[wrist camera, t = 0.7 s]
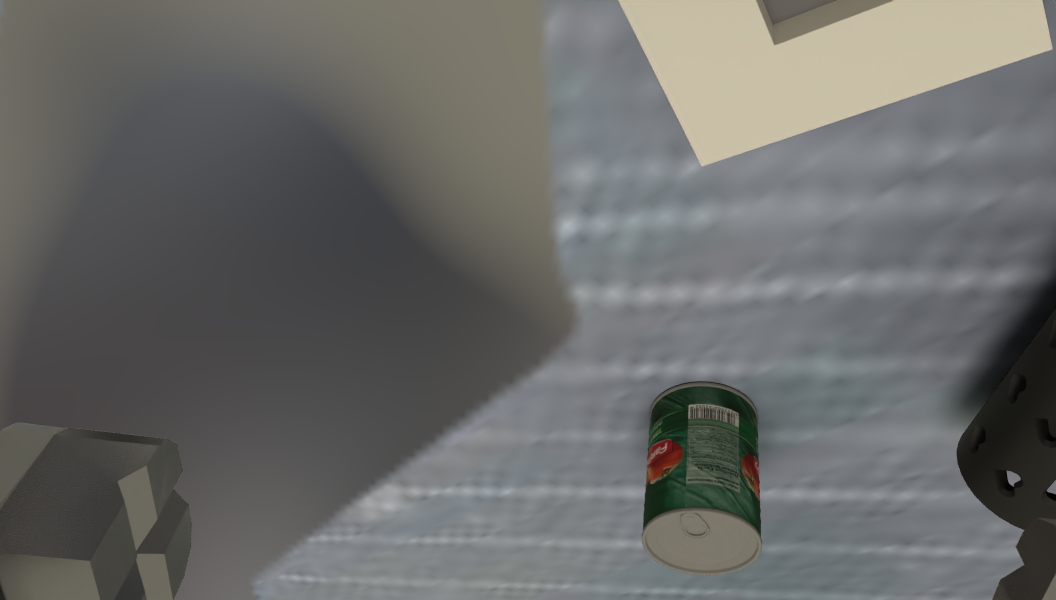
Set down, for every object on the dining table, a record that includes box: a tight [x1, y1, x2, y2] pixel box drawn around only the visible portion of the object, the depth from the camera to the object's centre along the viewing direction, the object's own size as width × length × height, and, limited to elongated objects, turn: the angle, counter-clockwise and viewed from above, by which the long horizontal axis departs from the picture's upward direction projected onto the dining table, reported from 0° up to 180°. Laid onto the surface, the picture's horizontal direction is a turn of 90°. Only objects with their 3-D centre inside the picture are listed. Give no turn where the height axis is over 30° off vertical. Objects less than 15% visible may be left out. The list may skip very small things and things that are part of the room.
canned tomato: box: [642, 382, 762, 575], centre depth 68 cm, size 8×8×11 cm
